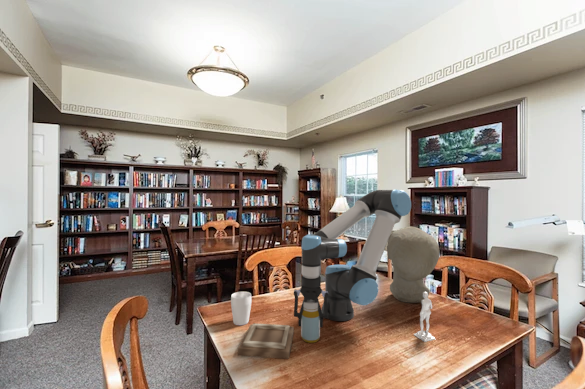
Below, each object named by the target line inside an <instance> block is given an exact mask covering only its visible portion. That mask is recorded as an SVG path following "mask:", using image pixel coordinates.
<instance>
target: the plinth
mask: <svg viewBox="0 0 585 389" xmlns="http://www.w3.org/2000/svg"><path fill="white" fill-rule="evenodd" d="M294 327H295V326H290V325H288V324H274V323H273V324H271V323H254V322H253V323H252V324H251V323H250V325H249V326H248V328H247V331H246V332H245V334H244V336H243V338H242V339H241V342H240V344H239V345H238V347H237V356H241V357H256V358H258V357H259V358H271V359H287V360H288V359H290V355H291V349H292V344H293V338H294V333H295V332H294V331H295V329H294Z"/></svg>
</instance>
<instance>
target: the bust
mask: <svg viewBox="0 0 585 389" xmlns="http://www.w3.org/2000/svg"><path fill="white" fill-rule="evenodd" d="M386 252H387V254H386V255H387V259H388V260H390V261H391V264H392V268H393V275H392V276H393V279H392V282H391V283H390V285H389V291H390V293H391V294H392V296H393V297H394V298H395V299H396V300H398V301H400V302H403V303H407V304H418V303H421V302H422V300H423V299H424V297H423V292H427V293H428V297H427V298H428V299H429V296H430V292H431V291H430V289H429V288H428V287H427V285H426V284H425V283H424V279H425V278H427V277H428V276H429V275H430V274H431V273H432V272H433V271H434V270H435V268H436V266H437V264H438V263H439V262H438V261H439V258H440V246H439V243H438V242H437V240H436V239H435V237H433V236H432V235H431V234H429V233H428V232H426V231H424V230H423V229H421V228H418V227H416V226H411V225H410V226H406V227H403V228H399V229H396V230H395V231H392V232H391V235H390V237H389V240H388V242H387V245H386Z"/></svg>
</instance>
